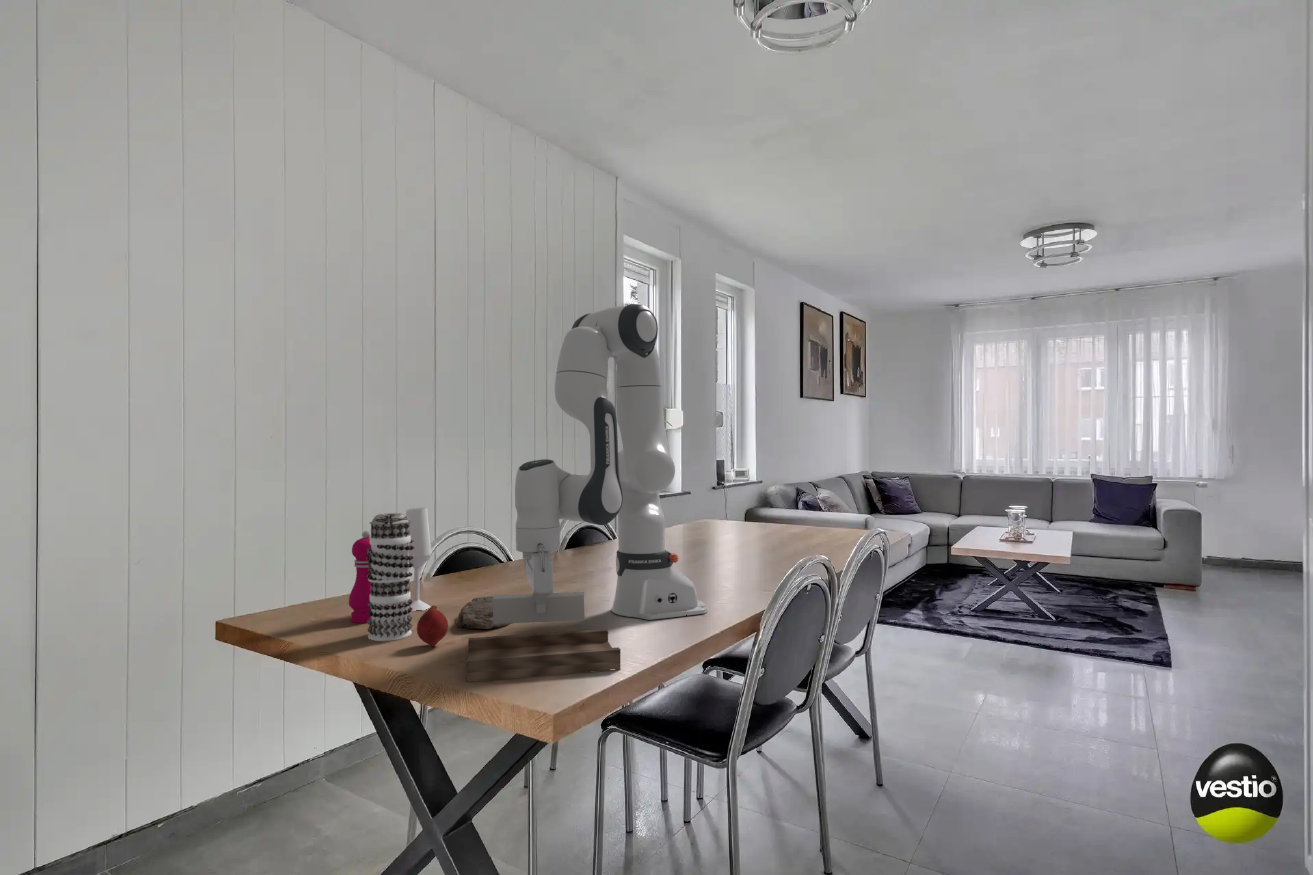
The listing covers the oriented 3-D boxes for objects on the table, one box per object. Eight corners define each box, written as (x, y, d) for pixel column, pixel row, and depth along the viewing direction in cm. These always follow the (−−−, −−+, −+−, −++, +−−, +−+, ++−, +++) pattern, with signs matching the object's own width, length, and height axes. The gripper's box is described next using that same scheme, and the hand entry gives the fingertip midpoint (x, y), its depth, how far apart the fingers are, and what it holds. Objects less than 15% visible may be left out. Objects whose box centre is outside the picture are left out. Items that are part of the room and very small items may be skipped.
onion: (431, 651, 132) (431, 609, 132) (410, 647, 135) (410, 606, 135) (454, 644, 137) (454, 603, 137) (433, 640, 140) (433, 600, 140)
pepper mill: (341, 623, 154) (341, 532, 154) (361, 615, 161) (361, 528, 161) (371, 624, 152) (371, 533, 153) (389, 616, 160) (389, 529, 160)
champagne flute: (436, 608, 167) (436, 508, 168) (408, 612, 163) (408, 510, 163) (424, 603, 172) (424, 506, 173) (397, 607, 168) (397, 508, 168)
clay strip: (584, 616, 142) (584, 591, 142) (584, 620, 139) (584, 595, 139) (495, 619, 141) (495, 595, 141) (493, 623, 138) (492, 598, 138)
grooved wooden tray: (606, 646, 135) (606, 628, 135) (620, 669, 122) (620, 649, 122) (468, 656, 129) (468, 638, 129) (466, 681, 116) (466, 660, 116)
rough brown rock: (501, 635, 145) (532, 610, 165) (500, 611, 145) (531, 590, 165) (437, 634, 147) (475, 610, 167) (437, 611, 147) (475, 589, 167)
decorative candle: (423, 632, 146) (423, 513, 146) (390, 643, 138) (390, 517, 138) (390, 627, 150) (390, 511, 150) (356, 638, 141) (356, 515, 142)
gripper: (560, 547, 131) (561, 620, 131) (548, 533, 151) (549, 597, 151) (526, 549, 129) (527, 623, 129) (518, 535, 149) (520, 599, 149)
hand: (539, 609), depth 140 cm, fingers closed on clay strip, 3 cm apart
